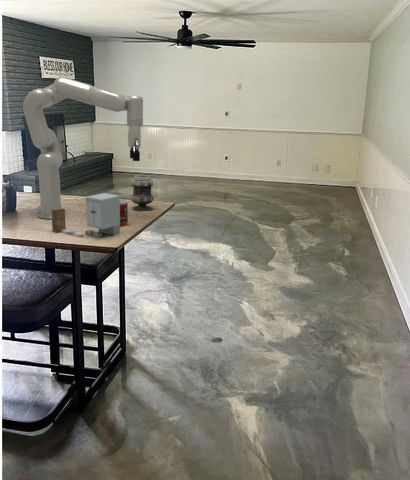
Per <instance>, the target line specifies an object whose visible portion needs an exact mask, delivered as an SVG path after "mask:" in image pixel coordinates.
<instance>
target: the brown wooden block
mask: <svg viewBox="0 0 410 480" xmlns="http://www.w3.org/2000/svg"><path fill="white" fill-rule="evenodd" d="M51 212H52V219H51V227H52V228H51V229H52V232H53V233H54V232H55V233H58V234H60V233H62V234H66V235H71V236H74V237H78V238H82V237H84V233H82V232H78V231H73V230H70V229H67V225H66V209H65V208H63V207H61V208H54V209H51Z"/></svg>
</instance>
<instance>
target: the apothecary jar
mask: <svg viewBox="0 0 410 480" xmlns="http://www.w3.org/2000/svg"><path fill="white" fill-rule="evenodd" d="M130 184H131V186H132V188H133V189H132V195H131V196H130V201H131V202H132V203H133V204H136V206H134V207H133V208H132V210H134V211H138V212H139V211H140V212H146V211H150V210H152V207H151V206H148V205H149V204H151V203H152V202H153V201H154V196H153V195H152V187H153V186H154V181H153V180H152V178H151V176H150V175H147V174H135V175H134V177H133V179H132V180H131V181H130Z"/></svg>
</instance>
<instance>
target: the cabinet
mask: <svg viewBox="0 0 410 480" xmlns="http://www.w3.org/2000/svg"><path fill="white" fill-rule="evenodd" d="M120 200H121V195H117V194H112V193H107V192H103V193H99V194H98V193H97V194H93V195H88V196H85V203H86V204H85V206H86V209H85V210H86V226H87V227H91V228H95V229H98V232H102V234H108V235H112V236H115V235H119V234H120V233H121V226H120Z"/></svg>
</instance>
